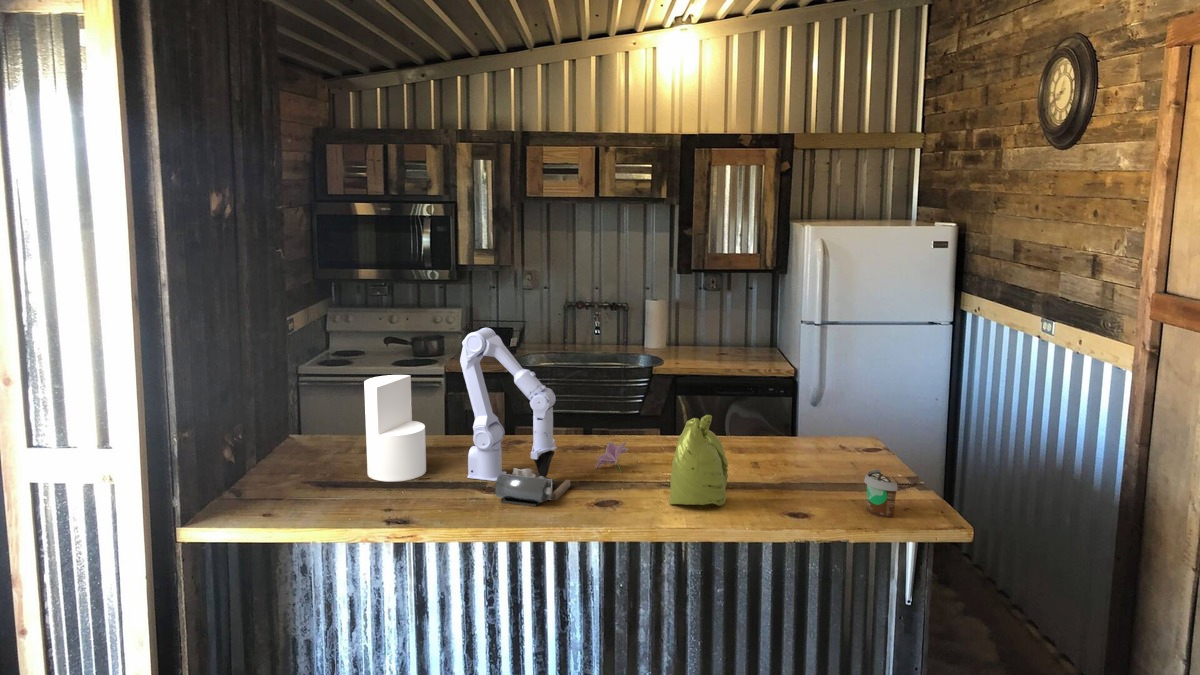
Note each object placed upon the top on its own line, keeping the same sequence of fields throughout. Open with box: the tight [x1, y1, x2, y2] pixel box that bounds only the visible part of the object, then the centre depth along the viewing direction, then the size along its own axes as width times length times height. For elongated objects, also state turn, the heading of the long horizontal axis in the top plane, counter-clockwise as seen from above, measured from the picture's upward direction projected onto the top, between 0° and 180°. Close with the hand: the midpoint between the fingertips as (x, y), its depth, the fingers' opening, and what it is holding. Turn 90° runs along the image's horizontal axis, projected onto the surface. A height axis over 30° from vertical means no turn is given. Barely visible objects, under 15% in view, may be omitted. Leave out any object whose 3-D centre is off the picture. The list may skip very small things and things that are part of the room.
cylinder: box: [363, 374, 427, 482], centre depth 272 cm, size 17×17×28 cm
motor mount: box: [494, 473, 571, 507], centre depth 255 cm, size 17×19×7 cm
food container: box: [863, 468, 898, 519], centre depth 244 cm, size 12×6×10 cm, turn 5°
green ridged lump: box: [668, 414, 729, 507], centre depth 254 cm, size 25×16×24 cm, turn 169°
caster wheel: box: [511, 467, 556, 493], centre depth 258 cm, size 7×11×10 cm
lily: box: [595, 441, 630, 473], centre depth 277 cm, size 12×12×10 cm
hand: (543, 476), depth 266 cm, fingers closed
